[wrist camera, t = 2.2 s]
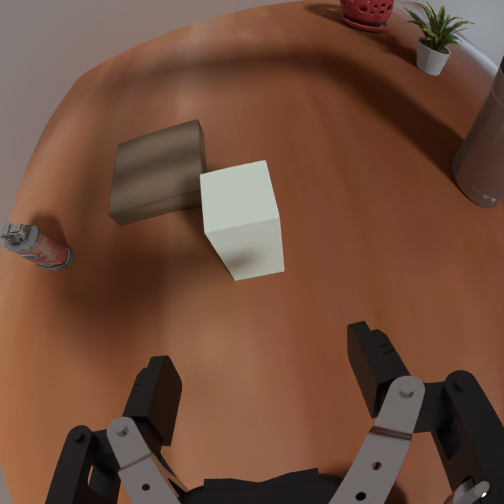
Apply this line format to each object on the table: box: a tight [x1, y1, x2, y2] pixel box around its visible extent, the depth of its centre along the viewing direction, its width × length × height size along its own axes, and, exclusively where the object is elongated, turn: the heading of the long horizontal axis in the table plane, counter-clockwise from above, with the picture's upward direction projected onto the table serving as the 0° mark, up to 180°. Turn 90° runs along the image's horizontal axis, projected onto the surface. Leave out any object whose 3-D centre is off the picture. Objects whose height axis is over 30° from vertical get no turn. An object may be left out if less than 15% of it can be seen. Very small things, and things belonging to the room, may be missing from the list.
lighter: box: [0, 223, 73, 270], centre depth 29 cm, size 8×3×10 cm, turn 89°
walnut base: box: [108, 119, 207, 226], centre depth 34 cm, size 12×12×3 cm
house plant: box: [403, 2, 474, 76], centre depth 33 cm, size 14×14×16 cm
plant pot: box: [340, 0, 394, 32], centre depth 43 cm, size 13×13×12 cm
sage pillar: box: [200, 160, 284, 281], centre depth 25 cm, size 5×5×11 cm
